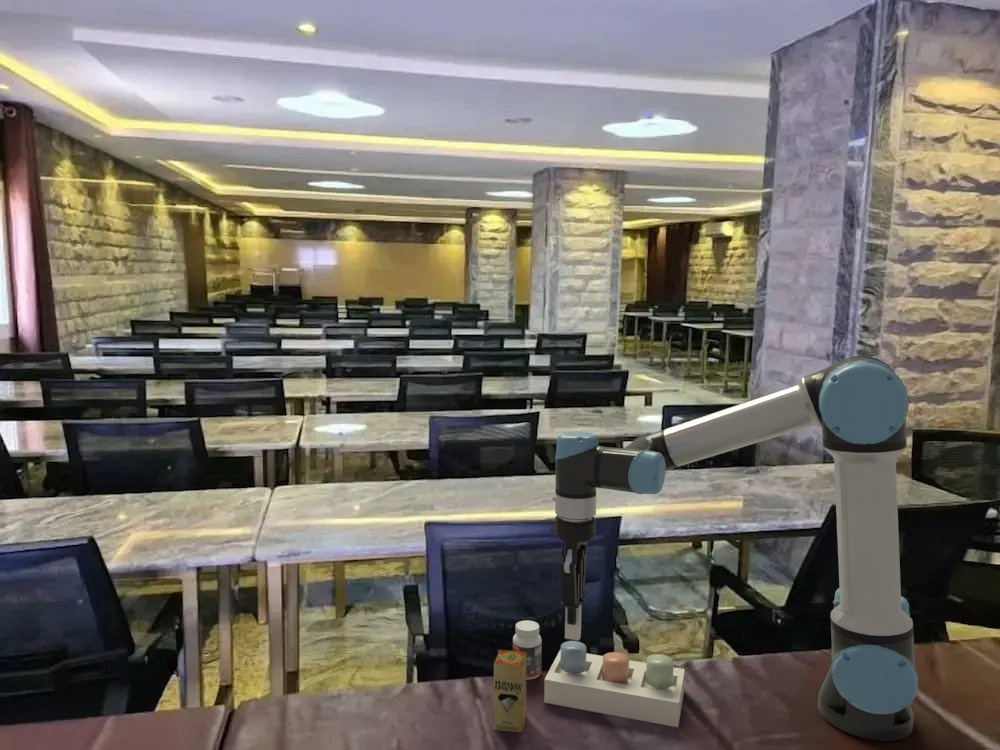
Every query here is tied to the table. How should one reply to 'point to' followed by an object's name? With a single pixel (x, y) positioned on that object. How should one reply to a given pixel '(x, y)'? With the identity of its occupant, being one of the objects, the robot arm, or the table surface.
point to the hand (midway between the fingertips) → (572, 637)
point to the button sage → (659, 671)
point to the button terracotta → (615, 668)
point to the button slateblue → (573, 657)
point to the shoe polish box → (510, 691)
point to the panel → (615, 692)
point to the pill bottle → (529, 646)
